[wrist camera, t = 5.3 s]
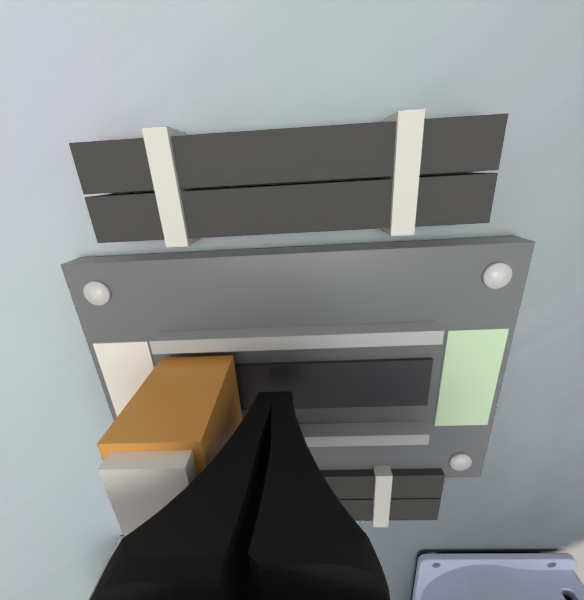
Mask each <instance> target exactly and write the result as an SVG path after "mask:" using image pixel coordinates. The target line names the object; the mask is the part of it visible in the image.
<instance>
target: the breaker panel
mask: <svg viewBox="0 0 584 600" xmlns="http://www.w3.org/2000/svg"><path fill="white" fill-rule="evenodd" d="M534 245H535V242H534V241H530V240H527V239H524V238H520V237H517V236H500V237H479V238H459V239H439V240H419V241H398V242H378V243H358V244H338V245H318V246H297V247H277V248H257V249H237V250H217V251H196V252H176V253H156V254H136V255H116V256H95V257H80V258H77V259H75V260H72V261H69V262H67V263H64V264H62V265H61V267H62V270H63V273H64V276H65V279H66V282H67V285H68V288H69V291H70V294H71V296H72V299H73V302H74V305H75V308H76V311H77V314H78V317H79V320H80V323H81V326H82V329H83V332H84V334H85V337H86V340H87V343H88V346H89V349H90V352H91V355H92V358H93V361H94V364H95V367H96V370H97V373H98V375H99V378H100V381H101V384H102V387H103V390H104V393H105V396H106V399H107V402H108V405H109V408H110V411H111V413H112V416H113V419H114V421H115V419H116V418H117V417H118V415H119V414H120V413H121V411H122V410H123V409H124V407H125V406H126V405H127V403H128V402H129V401H130V400H131V398H132V397H133V396H134V394H135V393H136V392H137V390H138V389H139V388H140V386H141V385H142V384H143V382H144V381H145V380H146V378H147V377H148V376H149V374H150V373H151V372H152V370H153V369H154V368H155V366H156V365H157V364H158V362H159V361H160V360H161V358H168V357H198V356H228V355H233V358H234V365H235V372H236V379H237V385H238V392H239V399H240V406H241V413H242V420H243V418H244V417H245V415H246V413H247V412H248V410H249V408H250V407H251V405H252V403H253V401H254V400H255V398H256V396H257V394H258V393H259V392H279V391H290V392H291V393H293V405H294V410H295V414H296V417H297V420H298V423H299V426H300V429H301V432H302V434H303V437H304V439H305V441H306V444H307V446H308V448H309V450H310V452H311V454H312V456H313V458H314V460H315V462H316V464H317V466H318V468H319V469H320V470H358V469H373V466H384V465H390V469H421V468H442V470H443V472H444V474H445V477H480V475H481V471H482V467H483V462H484V458H485V454H486V450H487V445H488V441H489V437H490V433H491V428H492V424H493V420H494V415H495V411H496V407H497V403H498V398H499V394H500V390H501V386H502V381H503V377H504V373H505V368H506V364H507V360H508V356H509V351H510V347H511V343H512V339H513V334H514V330H515V326H516V322H517V317H518V313H519V309H520V304H521V300H522V296H523V292H524V287H525V283H526V279H527V275H528V270H529V266H530V262H531V257H532V253H533V249H534Z"/></svg>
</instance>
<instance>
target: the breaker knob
mask: <svg viewBox="0 0 584 600" xmlns="http://www.w3.org/2000/svg"><path fill="white" fill-rule="evenodd" d="M241 421H242V413H241V406H240V399H239V392H238V385H237V379H236V372H235V365H234V358H233V355H228V356H198V357H168V358H161V360H160V361H159V362H158V364H157V365H156V366H155V368H154V369H153V370H152V372H151V373H150V374H149V376H148V377H147V378H146V380H145V381H144V382H143V384H142V385H141V386H140V388H139V389H138V390H137V392H136V393H135V394H134V396H133V397H132V398H131V400H130V401H129V402H128V403H127V405H126V406H125V407H124V409H123V410H122V411H121V413H120V414H119V415H118V417H117V418H116V419H115V421H114V422H113V423H112V425H111V426H110V427H109V429H108V430H107V431H106V433H105V434H104V435H103V437H102V438H101V439H100V441H99V442H98V443H97V445H98V448H99V450H100V453H101V456H102V458H103V463H102V464H101V466H100V467H99V469H98V472H99V475H100V477H101V480H102V482H103V485H104V487H105V490H106V492H107V495H108V497H109V500H110V502H111V505H112V507H113V510H114V512H115V515H116V517H117V520H118V522H119V525H120V528H121V530H122V533H123V535H124V537H125V536H126V535H128V534H129V533H131V532H132V531H133V530H135V529H136V528H137V527H139V526H140V525H142V524H143V523H144V522H146V521H147V520H148V519H150V518H151V517H152V516H154V515H155V514H156V513H157V512H159V511H160V510H161V509H162V508H163V507H164V506H166V505H167V504H168V503H169V502H170V501H171V500H173V499H174V498H175V497H176V496H177V495H178V494H179V493H181V492H182V491H183V490H184V489H185V488H186V487H187V486H188V485H189V484H190V483H191V482H192V481H193V480H194V479H195V478H196V477H197V476H198V475H199V474H200V473H201V472H202V471H203V470H204V469H205V468H206V466H207V465H208V464H209V463H210V462H211V461H212V460H213V459H214V457H215V456H216V455H217V454H218V453H219V451H220V450H221V449H222V448H223V446H224V445H225V444H226V442H227V441H228V440H229V438H230V437H231V436H232V434H233V433H234V432H235V430H236V429H237V427H238V426H239V424H240V423H241Z"/></svg>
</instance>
